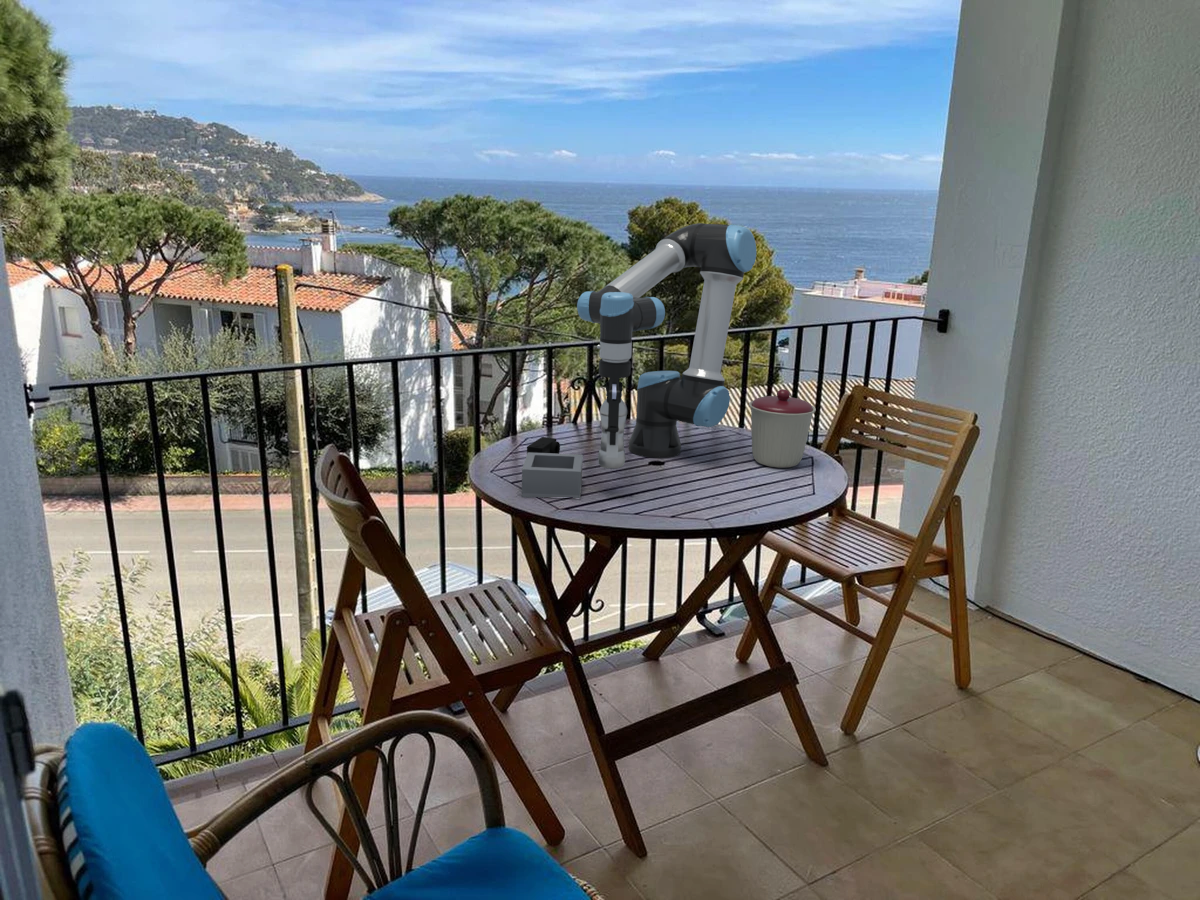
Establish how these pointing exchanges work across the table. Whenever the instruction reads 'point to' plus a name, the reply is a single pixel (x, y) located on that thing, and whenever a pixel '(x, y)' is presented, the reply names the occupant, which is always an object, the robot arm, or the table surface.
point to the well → (552, 475)
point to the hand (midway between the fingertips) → (612, 452)
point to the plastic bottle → (618, 462)
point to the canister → (780, 429)
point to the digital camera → (544, 446)
